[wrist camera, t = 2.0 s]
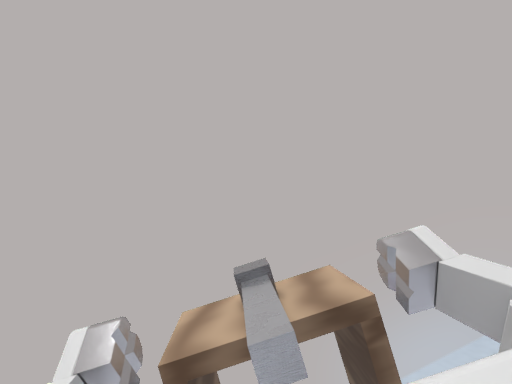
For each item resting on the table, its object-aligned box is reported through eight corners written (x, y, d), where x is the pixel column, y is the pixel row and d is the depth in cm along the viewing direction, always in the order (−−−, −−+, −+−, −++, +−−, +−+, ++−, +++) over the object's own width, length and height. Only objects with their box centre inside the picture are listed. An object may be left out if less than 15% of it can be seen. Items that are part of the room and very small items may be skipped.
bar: (274, 289, 40) (265, 258, 40) (315, 374, 21) (297, 312, 21) (243, 299, 40) (233, 267, 40) (253, 396, 20) (234, 332, 20)
